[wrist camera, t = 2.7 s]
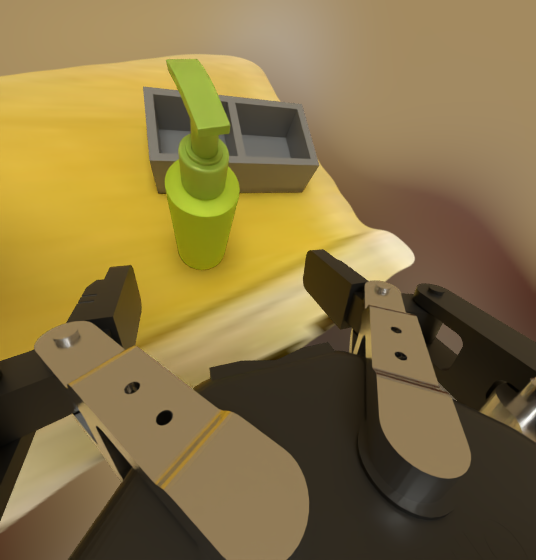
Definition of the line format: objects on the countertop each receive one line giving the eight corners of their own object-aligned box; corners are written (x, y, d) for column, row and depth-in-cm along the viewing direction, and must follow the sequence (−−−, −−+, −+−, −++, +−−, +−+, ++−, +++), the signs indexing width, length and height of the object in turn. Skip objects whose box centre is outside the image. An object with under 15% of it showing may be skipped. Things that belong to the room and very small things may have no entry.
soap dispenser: (212, 216, 34) (228, 49, 15) (231, 261, 32) (273, 140, 14) (168, 227, 32) (125, 49, 13) (187, 276, 30) (168, 156, 12)
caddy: (158, 193, 32) (149, 160, 27) (151, 129, 35) (143, 86, 29) (301, 192, 39) (319, 165, 33) (288, 137, 41) (301, 104, 36)
